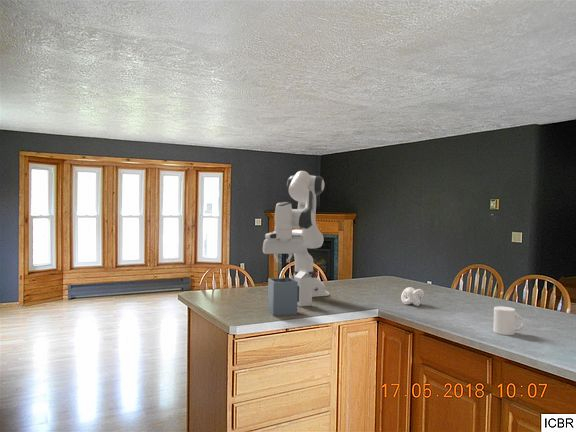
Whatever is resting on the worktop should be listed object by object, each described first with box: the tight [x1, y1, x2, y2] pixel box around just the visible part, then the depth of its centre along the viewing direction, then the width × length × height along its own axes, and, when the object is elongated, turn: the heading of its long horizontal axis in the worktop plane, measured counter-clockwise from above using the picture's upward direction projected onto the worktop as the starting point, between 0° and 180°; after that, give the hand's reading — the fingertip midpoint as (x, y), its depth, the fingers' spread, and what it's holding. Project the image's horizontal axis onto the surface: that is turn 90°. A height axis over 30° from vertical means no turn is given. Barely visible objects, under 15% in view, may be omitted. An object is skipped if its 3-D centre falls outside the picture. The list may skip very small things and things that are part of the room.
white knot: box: [400, 287, 425, 307], centre depth 243 cm, size 11×12×9 cm
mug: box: [492, 305, 526, 336], centre depth 189 cm, size 8×10×12 cm
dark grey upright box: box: [267, 277, 299, 316], centre depth 221 cm, size 14×12×16 cm
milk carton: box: [293, 269, 313, 307], centre depth 238 cm, size 7×7×19 cm
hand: (282, 262), depth 220 cm, fingers open, 4 cm apart
